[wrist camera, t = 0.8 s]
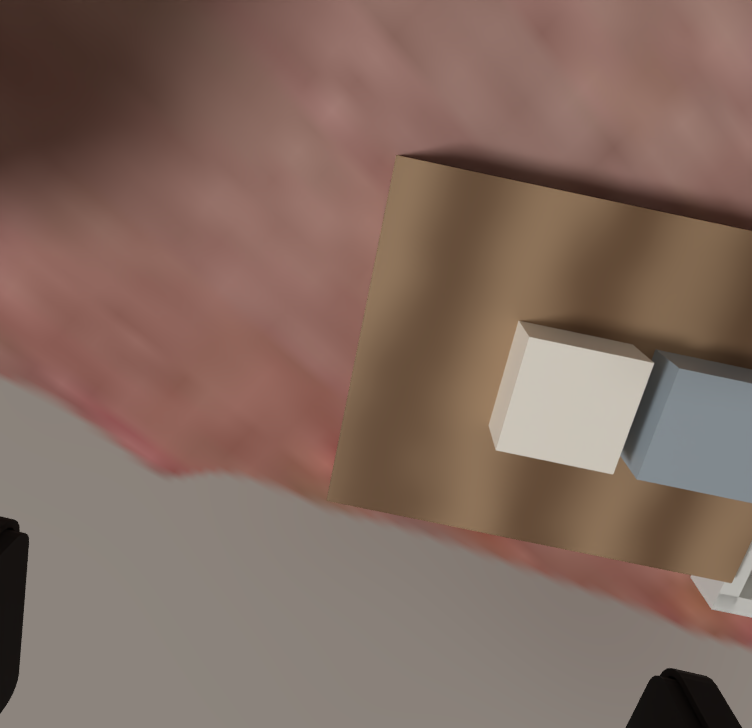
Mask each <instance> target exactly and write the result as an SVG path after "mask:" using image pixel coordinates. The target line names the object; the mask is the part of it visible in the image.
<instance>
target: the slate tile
mask: <svg viewBox="0 0 752 728" xmlns="http://www.w3.org/2000/svg"><path fill="white" fill-rule="evenodd" d="M651 361H653V362H654V365H653V368H652V371H651V374H650V376H649V379H648V382H647V384H646V387H645V390H644V393H643V395H642V398H641V401H640V403H639V406H638V409H637V412H636V414H635V417H634V420H633V422H632V425H631V428H630V430H629V433H628V436H627V439H626V441H625V444H624V447H623V449H622V452H621V455H620V456H621V458H622V459H623V461H624V462H625V463H626V465H627V466H628V468H629V469H630V471H631V472H632V473H633V475H634V476H635V478H636V479H637V480H642V481H647V482H652V483H657V484H661V485H666V486H671V487H676V488H681V489H686V490H690V491H695V492H700V493H705V494H710V495H715V496H719V497H724V498H729V499H734V500H739V501H744V502H749V503H752V369H747V368H742V367H737V366H733V365H728V364H723V363H718V362H714V361H709V360H704V359H699V358H695V357H690V356H685V355H680V354H676V353H671V352H666V351H661V350H657V349H655V352H654V355H653V357H652V360H651Z"/></svg>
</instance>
